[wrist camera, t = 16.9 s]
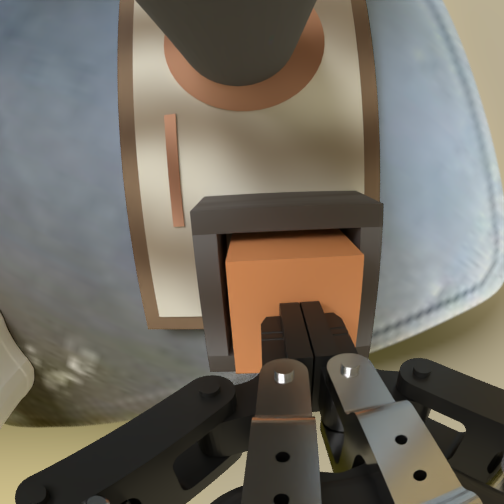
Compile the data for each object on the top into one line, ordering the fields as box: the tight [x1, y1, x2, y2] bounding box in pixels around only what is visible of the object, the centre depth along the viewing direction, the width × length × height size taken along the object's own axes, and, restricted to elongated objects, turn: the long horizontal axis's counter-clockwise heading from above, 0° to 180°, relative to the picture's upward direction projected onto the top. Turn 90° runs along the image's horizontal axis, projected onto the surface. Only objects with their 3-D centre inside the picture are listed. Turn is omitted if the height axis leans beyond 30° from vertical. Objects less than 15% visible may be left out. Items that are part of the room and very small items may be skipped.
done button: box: [225, 228, 364, 374], centre depth 14 cm, size 5×5×4 cm
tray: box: [118, 0, 383, 372], centre depth 15 cm, size 22×14×6 cm, turn 3°
